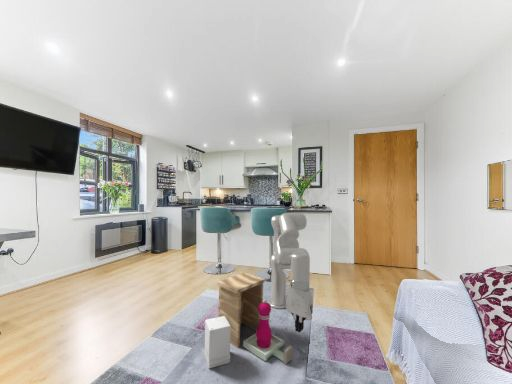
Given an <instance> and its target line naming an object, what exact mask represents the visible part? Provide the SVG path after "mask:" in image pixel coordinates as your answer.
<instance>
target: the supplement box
mask: <svg viewBox="0 0 512 384" xmlns="http://www.w3.org/2000/svg"><path fill="white" fill-rule="evenodd" d="M204 327H205V328H204V358H205V361H206V364H207V368H208V369H212V368H216V367H219V366H222V365H226V364H229V363H230V362H231V343H230V329H231V326H230V324H229V323H228V321H227V319H226V317H225V316H221V317H218V316H217V317H212V318H207V319H205V321H204Z"/></svg>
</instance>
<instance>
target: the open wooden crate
mask: <svg viewBox="0 0 512 384" xmlns="http://www.w3.org/2000/svg"><path fill="white" fill-rule="evenodd" d="M264 283H265V278H263V277H259V276H256V275H253V274H250V273H248V272H243V273H239V274H237V275H234V276H231V277H227V278H225V279H222V280H218V281H217V286H218V316H217V317H221V316H225V317H226V319H227V321H228V323H229V324H230V326H231V329H230V345H232V346H234V347H236V348H237V349H239V348H240V347H241V346H240V345H241V344H240V343H241V337H240V336H241V324H244V325H246V326H248V327H250V328H252V329H253V330H255V331H257V328H258V326H259V323H260V318H259V311H258V306H259V304H260V303H262V302H263V300H264Z"/></svg>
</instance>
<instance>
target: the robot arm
mask: <svg viewBox="0 0 512 384" xmlns="http://www.w3.org/2000/svg"><path fill="white" fill-rule="evenodd" d="M270 222H271V228H272V229H273V251H274V254H272V255H271V256H270V268H271V279H270V280H271V281H270V282H271V283H270V284H271V285H270V287H271V289H270V290H271V291H270V299H269V300H268V303H269V304H270V306H271V308H274V309H281V310H282V309H286V311H287V312H288V313H290V314H291V315H292V317H293V320H294V329H295V332H297V333H301V332H302V331H303V330H304V327H305V326H304V324H305V323H304V321H311V320H313V315H312V314H313V311H314V308H313V307H314V305H313V304H314V303H313V294H312V289H311V288H310V277H311V276H310V274H311V273H310V272H311V268H310V267H311V265H310V263H311V259H310V254H309V252H308V250H307V249H306V248H301V247H300V242H299V241H298V238H299V237H300V232H299V231H301V230H304V229H305V228H306V227H307V218H306V216H305V215H304V213H301V212H284V213H282V214H279V215H273V216H271V219H270ZM284 270H290V277H288V280H287V274H286V272H285V271H284ZM287 281H288V282H289V285H288V286H287Z"/></svg>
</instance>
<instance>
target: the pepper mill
mask: <svg viewBox="0 0 512 384" xmlns="http://www.w3.org/2000/svg"><path fill="white" fill-rule="evenodd" d="M258 311H259V318H260V323H259V326H258V328H257V330H255V331H256V332H255V333H256V337H257V338H258V339H257V345H258V346H259V347H260V348H268V347H270V345H271V337H272V334H273V332H272V328H271V325H270V317H271V312H272V307H271V306H270V304H269V302H267V299H265V298H263V302H262V303H260V304H259V306H258Z"/></svg>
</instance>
